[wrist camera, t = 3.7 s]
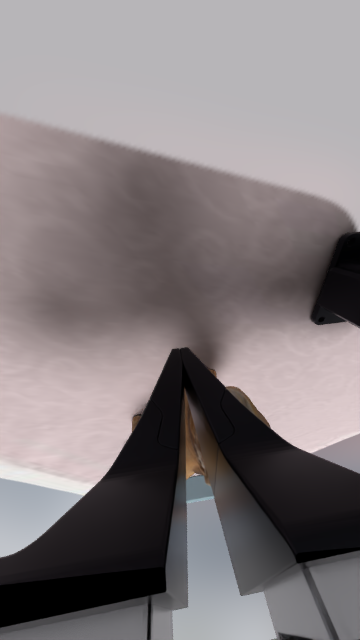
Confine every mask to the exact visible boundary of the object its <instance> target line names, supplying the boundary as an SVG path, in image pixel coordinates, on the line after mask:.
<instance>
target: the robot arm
mask: <svg viewBox="0 0 360 640" xmlns="http://www.w3.org/2000/svg"><path fill="white" fill-rule="evenodd" d="M348 241H349V242H348ZM347 242H348V244H347ZM311 320H312V322H314V323H315V324H317V325H323V324H331V323H339V322H346V321H348V322H349V323H351V324H353V325H355V326H357V327H358V328H360V232H353V233H347V234H344V235H343V236H342V237H341V238H340V239H339V241H338V243H337V246H336V249H335V252H334V255H333V258H332V260H331V263H330V266H329V269H328V272H327V275H326V278H325V280H324V283H323V286H322V289H321V292H320V295H319V298H318V301H317V303H316V306H315V309H314V312H313V315H312V318H311ZM185 391H186V396H187V399H188V403H189V407H190V410H191V414H192V418H193V421H194V425H195V429H196V432H197V436H198V440H199V444H200V447H201V451H202V455H203V458H204V462H205V466H206V469H207V473H208V477H209V481H210V484H211V488H212V492H213V495H214V499H215V503H216V506H217V510H218V514H219V517H220V521H221V525H222V529H223V532H224V536H225V540H226V543H227V547H228V551H229V555H230V558H231V562H232V566H233V569H234V573H235V577H236V580H237V584H238V588H239V591H240V595H241V596H243V595H249V594H253V593H258V592H263V591H264V594H265V597H266V601H267V605H268V608H269V611H270V615H271V619H272V622H273V626H274V629H275V633H276V636H277V639H272V640H360V474H359V473H357V472H354V471H352V470H349V469H347V468H345V467H342V466H340V465H337V464H335V463H332V462H330V461H328V460H325V459H323V458H320V457H318V456H316V455H313V454H311V453H308V452H306V451H303V450H301V449H299V448H297V447H295V446H293V445H292V444H290V443H288V442H287V441H286V440H284V439H283V438H281V437H280V436H279V435H278V434H277V433H275V432H274V431H273V430H272V429H271V428H270V427H268V426H267V425H266V424H265V423H264V422H262V421H261V420H260V419H259V418H258V417H257V416H255V415H254V414H253V413H252V412H251V411H250V410H248V409H247V408H246V407H245V406H244V405H243V404H242V403H241V402H240V401H239V400H238V399H237V398H236V397H235V396H234V395H233V394H232V393H231V392H230V391H229V390H228V389H226V387H225V386H224V385H223V384H222V383H221V382H220V381H219V380H218V379H217V378H216V377H215V375H214V374H213V373H212V372H211V371H210V370H209V369H208V368H207V367H206V366H205V365H204V364H203V363H202V362H201V361H200V360H199V359H198V358H197V357H196V355H195V354H194V353H193V352H192V351H191V350H190V349H189V348H188V347H185V348H180V349H179V348H177V349H172V350H171V353H170V355H169V357H168V359H167V361H166V364H165V366H164V368H163V370H162V373H161V375H160V377H159V379H158V381H157V384H156V386H155V388H154V390H153V392H152V395H151V397H150V400H149V401H148V403H147V406H146V408H145V410H144V412H143V414H142V416H141V418H140V420H139V421H138V423H137V425H136V427H135V428H134V430H133V432H132V434H131V435H130V437H129V439H128V440H127V442H126V443H125V445H124V447H123V448H122V450H121V452H120V453H119V455H118V457H117V458H116V460H115V462H114V463H113V465H112V466H111V468H110V469H109V471H108V472H107V473H106V475H105V476H104V477H103V478H102V479H101V480H100V481H99V482H98V483H97V484H96V485H95V486H94V487H93V488H92V489H91V490H90V491H89V492H88V493H87V494H86V495H85V496H83V497H82V498H81V499H80V500H79V501H78V502H77V503H76V504H75V505H74V506H73V507H72V508H71V509H70V510H69V511H68V512H66V513H65V515H63V516H62V517H61V518H60V519H59V520H58V521H57V522H56V523H55V524H54V525H52V526H51V527H50V528H49V529H48V530H47V531H46V532H45V533H44V534H43V535H42V536H40V537H39V538H38V539H37V540H36V541H34V542H33V543H31V544H30V545H28V546H27V547H25V548H24V549H22V550H20V551H18V552H17V553H14V554H12V555H9V556H6V557H1V558H0V640H173V624H172V611H173V610H178V609H182V608H187V607H188V572H187V503H186V429H185Z"/></svg>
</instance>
